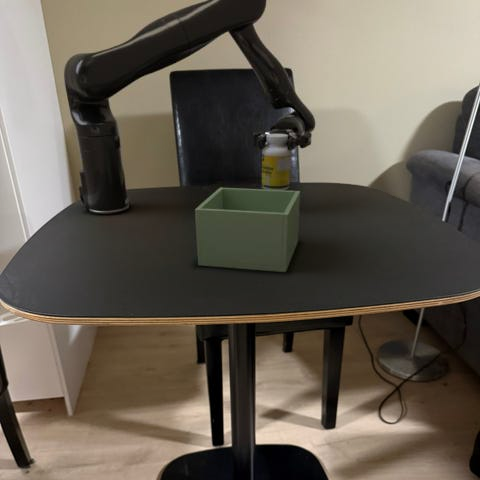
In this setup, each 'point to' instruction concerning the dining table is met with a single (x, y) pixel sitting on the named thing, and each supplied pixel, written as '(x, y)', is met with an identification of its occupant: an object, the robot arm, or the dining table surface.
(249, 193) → the storage bin
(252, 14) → the robot arm
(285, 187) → the pill bottle
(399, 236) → the dining table surface
